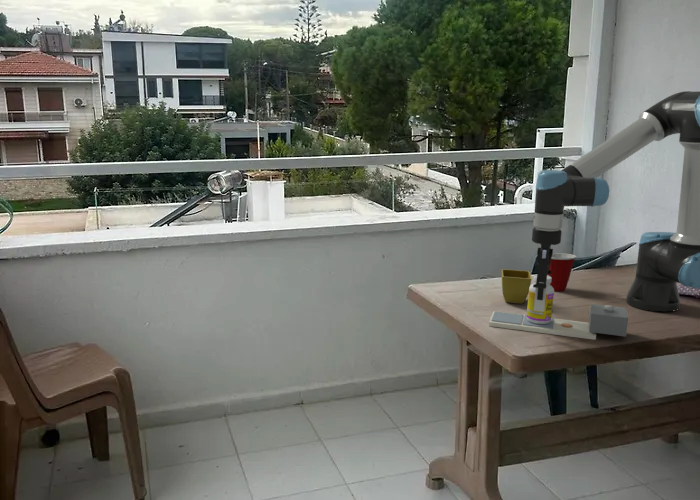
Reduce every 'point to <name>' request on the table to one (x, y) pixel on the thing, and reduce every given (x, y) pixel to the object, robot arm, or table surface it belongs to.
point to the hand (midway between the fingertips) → (540, 303)
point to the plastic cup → (560, 270)
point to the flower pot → (515, 285)
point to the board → (542, 325)
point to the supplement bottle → (545, 316)
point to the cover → (608, 320)
